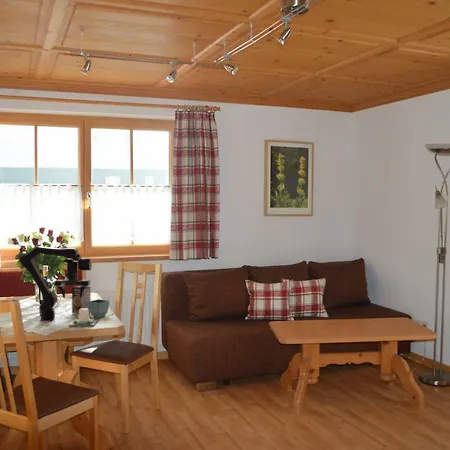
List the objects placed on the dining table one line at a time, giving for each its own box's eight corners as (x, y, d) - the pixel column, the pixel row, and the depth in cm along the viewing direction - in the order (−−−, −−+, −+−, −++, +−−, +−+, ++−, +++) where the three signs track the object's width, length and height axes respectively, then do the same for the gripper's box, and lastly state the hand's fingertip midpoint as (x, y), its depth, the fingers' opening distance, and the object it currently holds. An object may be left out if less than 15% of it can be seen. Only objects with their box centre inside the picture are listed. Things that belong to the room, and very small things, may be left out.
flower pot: (99, 318, 312) (98, 303, 312) (87, 317, 317) (87, 301, 316) (109, 316, 320) (109, 300, 319) (98, 314, 324) (98, 299, 324)
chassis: (68, 326, 293) (68, 320, 292) (75, 321, 306) (74, 314, 305) (93, 326, 293) (93, 320, 293) (98, 321, 306) (98, 314, 306)
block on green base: (72, 324, 294) (72, 311, 294) (76, 320, 304) (76, 307, 304) (91, 324, 294) (90, 311, 294) (95, 320, 304) (95, 307, 304)
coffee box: (71, 313, 325) (71, 286, 325) (79, 311, 331) (79, 285, 330) (83, 315, 321) (83, 287, 320) (90, 313, 327) (90, 286, 326)
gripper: (51, 272, 301) (51, 300, 301) (85, 272, 301) (85, 300, 302) (57, 269, 312) (57, 297, 312) (90, 269, 312) (90, 297, 313)
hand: (72, 298), depth 309 cm, fingers open, 9 cm apart
